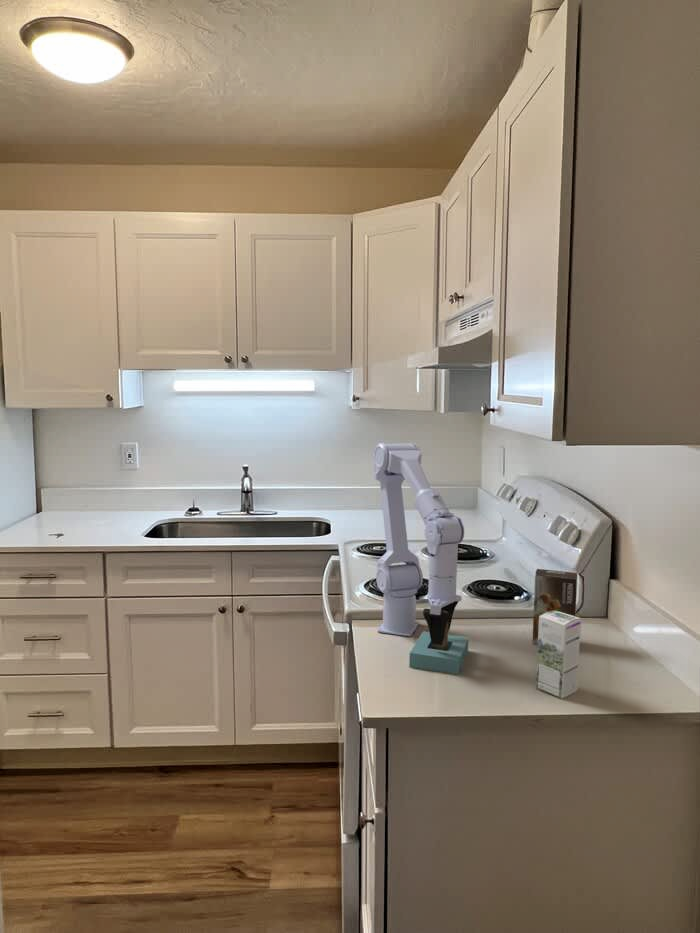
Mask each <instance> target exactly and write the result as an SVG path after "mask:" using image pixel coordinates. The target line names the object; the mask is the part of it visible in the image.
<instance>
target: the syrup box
mask: <svg viewBox="0 0 700 933" xmlns="http://www.w3.org/2000/svg"><path fill="white" fill-rule="evenodd" d="M581 624H582V619H581V617H579V616H576V617H575V616H572V615H569V614H565V613H562V612H558V611H550V612H547V613H545V614H543V615H541V616H539V631H538V645H537V655H536V656H537V657H536V678H535V689H536V690H539V691H542V692H544V693H547V694H548V695H552V696H554V697H556V698H559V699H561V700H562V699H565V698H566V697H569V696H570V695H572V694H574V693H576V692H577V691H578V681H579V680H578V678H579V676H578V675H579V660H580V658H579V657H580V644H581V642H580V641H581V628H582V626H581ZM568 695H569V696H568Z"/></svg>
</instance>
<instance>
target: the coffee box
mask: <svg viewBox="0 0 700 933" xmlns="http://www.w3.org/2000/svg"><path fill="white" fill-rule="evenodd" d="M577 590H578V573H577V572H573V571H572V572H571V571H570V572H569V571H561V570H551V569H542V568H536V571H535V575H534V594H533V595H534V598H533V615H532V616H533V619H532V620H533V621H532V623H533V624H532V641H531V642H532V645H537V646H538V631H539V616H541V615H543V614H545V613H547V612H550V611H558V612H562V613H565V614H569V615H572V616H575V617H577V615H576V614H577V596H578V595H577V593H578V592H577Z"/></svg>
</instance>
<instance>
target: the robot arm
mask: <svg viewBox="0 0 700 933" xmlns="http://www.w3.org/2000/svg"><path fill="white" fill-rule="evenodd" d="M372 463H373V472H374V478H375V480H377V481H378V482H379V488H380V490H379V491H380V496H381V497H380V498H381V506H382V507H381V508H382V516H383V519H382V520H383V526H384V527H383V528H384V537H385V545H386V546H385V547H386V552H385V553H384V554H383V555H382V556H381V557H380V558H379V559H378V560H377V561H376V566H377V567H376V578H375V579H376V580H375V581H376V585H377V588H378V590H380V593H382V594H383V602H382V603H383V607H382V611H383V612H382V624H380V626H379V627H378V628H377V632H378V633H383V634H388V635H389V634H390V635H398V636H404V637H411V636H413V633H414V632H415V631H416V629H417V627H418V626H419V625H420V621H419V620H416V614H417V613H416V611H417V608H416V606H417V598H416V594H418V590H419V589H420V588H421V586H422V584H423V582H424V581H423V580H424V575H423V571H422V569H421V565H420V562H419V557H418V556H416V555H415V554H414V553H412V552H411V551H410V550H409V545H408V543H409V542H408V535H407V534H408V533H407V525H406V517H405V507H404V506H405V505H404V500H403V498H404V497H403V489H402V484H403V483H404V481H406V483H408V485H409V487H410V489H411V490H412V492H413V493H414V495H415V498H414V505H415V508H416V509H417V511H418V513H419V515H420V517H421V519H422V521H423V523H424V525H425V528H424V537H425V539H426V540H425V541H426V549H427V552H428V553H429V561H428V562H429V564H428V589H427V590H428V591H427V594H426V598H427V600H428V603H429V606H430V607H429V608H423V611H422V615H423V617H424V618H425V622H426V623H427V627H428V632H429V633H430V638H431V643H432V644H436V645H442V643H443V640H444V635H445V629H446V625H447V622H448V633H449V631H450V630H451V624H452V620H453V616H454V613H455V610H456V607H457V605H458V604H459V602H461V601H462V598H463V597H462V595H458V594H457V574H458V553H459V550H458V549H459V547H458V546H459V544H461V543H462V542H463V539H464V538H465V526H464V523H463V521H462V519H461V517H459V516H458V515H455V514H454V513H453V512H450V510H449V509H448V507H447V505H446V503H445V502H444V500H443V497H442V496H441V494H440V492H439V491H438V490H436V489H432V488H431V486H430V483H429V481H428V480H427V477H426V475H425V473H424V470H423V468H422V452H421V449H420V447H419V445H417V443H415V442H409V443H406V442H405V443H385V442H384V443H383V442H379V443H378V444H377V445H376V447H375V449H374V452H373V454H372ZM396 563H404V564H396ZM393 564H394V565H393ZM442 610H443V611H447V612H448V613H445V612H443V611H442Z"/></svg>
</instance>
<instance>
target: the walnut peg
mask: <svg viewBox="0 0 700 933" xmlns="http://www.w3.org/2000/svg"><path fill="white" fill-rule="evenodd" d="M442 611H443V610H442ZM443 612H445V613H448V612H447V611H443ZM448 635H449V632H448V622H447V625H446V629H445V635H444V640H443V643H442V645H436V644H433V649H436V650H443V651H447V644H448Z"/></svg>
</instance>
